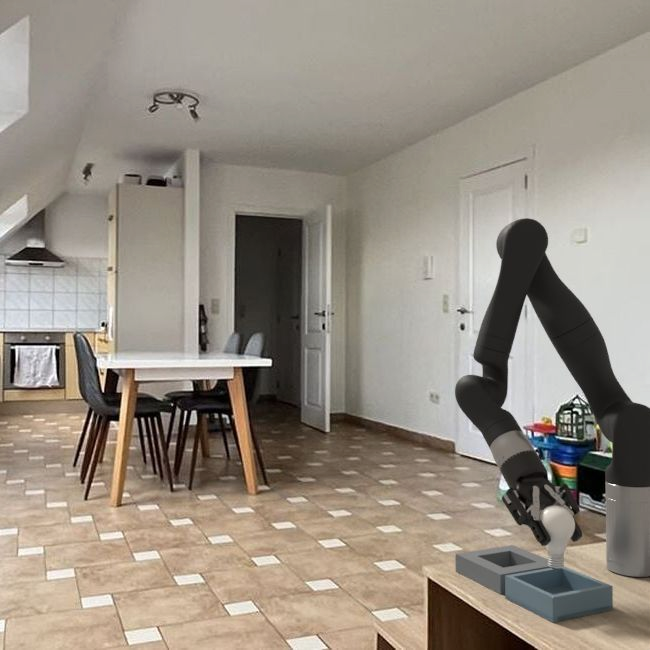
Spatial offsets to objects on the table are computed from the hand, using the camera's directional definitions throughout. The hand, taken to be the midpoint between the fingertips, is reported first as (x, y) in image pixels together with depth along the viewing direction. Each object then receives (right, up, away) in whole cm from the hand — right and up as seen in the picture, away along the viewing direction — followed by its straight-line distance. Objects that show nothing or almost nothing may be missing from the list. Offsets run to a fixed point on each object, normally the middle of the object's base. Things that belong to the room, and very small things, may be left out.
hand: (562, 541), depth 123 cm
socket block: (-6, -12, +15) cm, 20 cm away
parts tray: (0, -11, +1) cm, 11 cm away
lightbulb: (-1, -6, +1) cm, 6 cm away
